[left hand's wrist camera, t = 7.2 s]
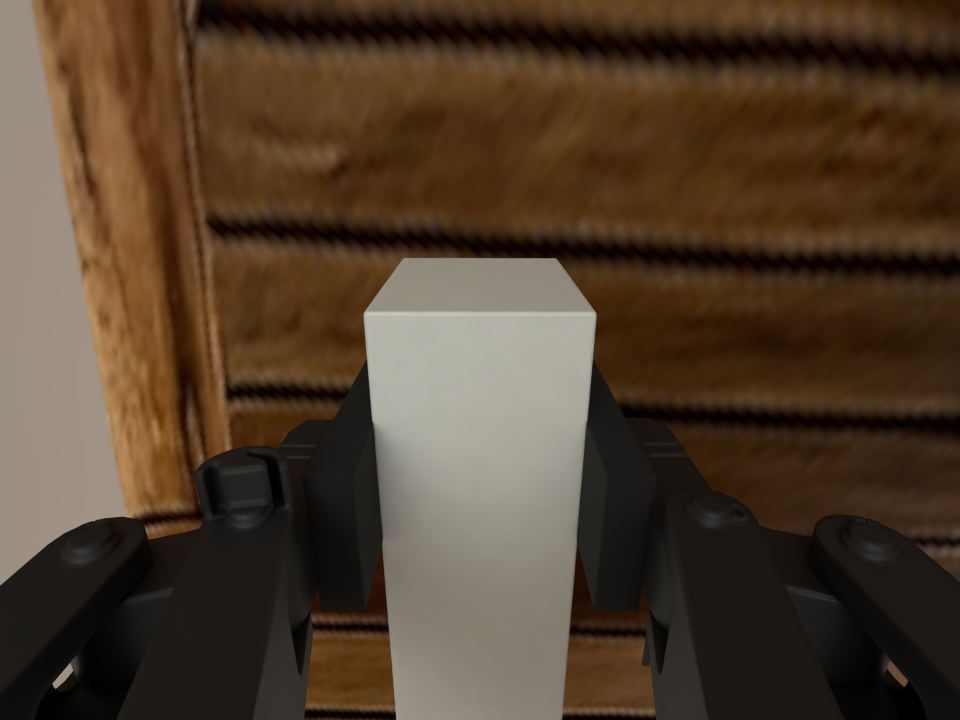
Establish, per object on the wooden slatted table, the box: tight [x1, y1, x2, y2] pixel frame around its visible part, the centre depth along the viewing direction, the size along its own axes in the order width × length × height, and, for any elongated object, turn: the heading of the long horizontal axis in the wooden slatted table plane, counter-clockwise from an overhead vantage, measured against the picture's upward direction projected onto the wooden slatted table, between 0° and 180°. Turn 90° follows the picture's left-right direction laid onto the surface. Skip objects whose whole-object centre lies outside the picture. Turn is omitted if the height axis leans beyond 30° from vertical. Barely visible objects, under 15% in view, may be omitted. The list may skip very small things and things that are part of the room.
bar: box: [364, 258, 597, 720], centre depth 16 cm, size 4×24×5 cm, turn 0°
